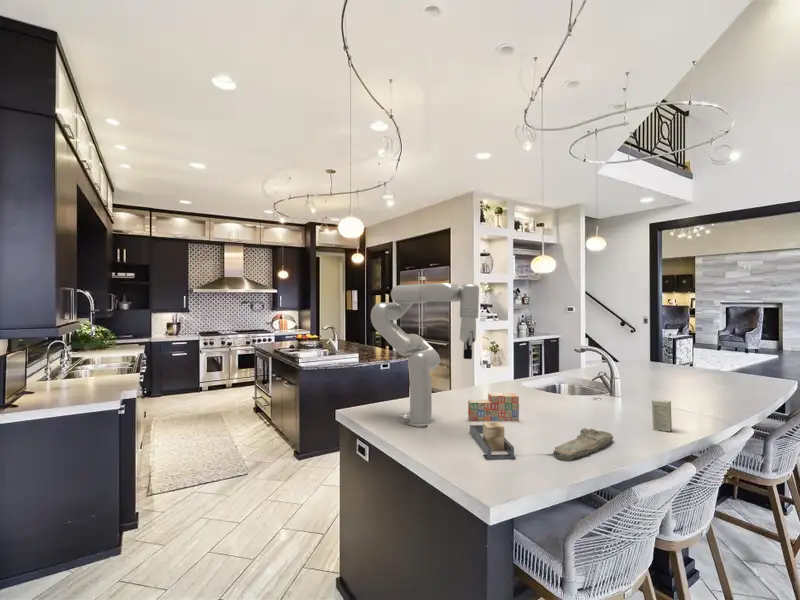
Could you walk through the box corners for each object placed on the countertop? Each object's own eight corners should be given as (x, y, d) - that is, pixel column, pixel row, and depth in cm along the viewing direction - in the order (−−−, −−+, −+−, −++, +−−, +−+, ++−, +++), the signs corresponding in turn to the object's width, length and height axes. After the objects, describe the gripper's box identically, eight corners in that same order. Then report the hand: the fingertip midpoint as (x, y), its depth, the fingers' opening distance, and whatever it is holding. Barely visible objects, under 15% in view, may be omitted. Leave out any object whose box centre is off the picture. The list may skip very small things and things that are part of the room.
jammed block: (487, 450, 143) (487, 427, 143) (482, 444, 149) (482, 422, 149) (504, 450, 144) (504, 427, 144) (499, 444, 150) (499, 422, 150)
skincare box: (672, 430, 170) (671, 400, 170) (670, 432, 167) (669, 402, 167) (654, 427, 174) (654, 398, 175) (651, 429, 171) (651, 400, 171)
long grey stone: (545, 460, 142) (572, 470, 134) (545, 445, 141) (573, 454, 133) (593, 434, 164) (619, 442, 156) (593, 421, 163) (619, 428, 156)
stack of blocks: (470, 423, 180) (470, 395, 180) (468, 419, 186) (468, 392, 186) (519, 424, 180) (519, 395, 180) (515, 420, 186) (515, 392, 186)
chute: (486, 459, 137) (486, 447, 138) (468, 435, 163) (468, 425, 163) (515, 459, 138) (515, 447, 138) (493, 434, 164) (493, 424, 164)
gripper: (456, 313, 176) (455, 356, 177) (463, 314, 162) (462, 361, 162) (473, 313, 177) (472, 356, 177) (482, 315, 162) (481, 361, 162)
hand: (467, 358), depth 169 cm, fingers closed
